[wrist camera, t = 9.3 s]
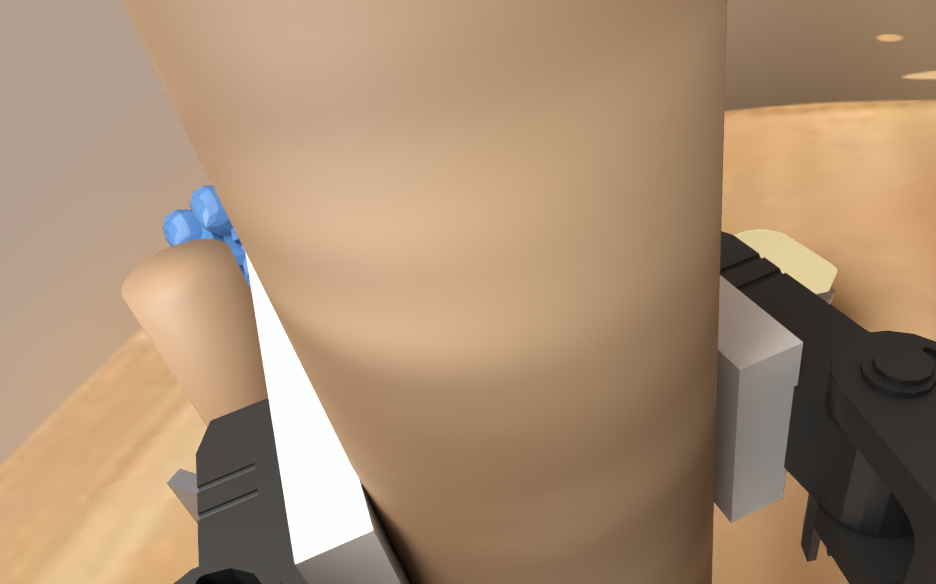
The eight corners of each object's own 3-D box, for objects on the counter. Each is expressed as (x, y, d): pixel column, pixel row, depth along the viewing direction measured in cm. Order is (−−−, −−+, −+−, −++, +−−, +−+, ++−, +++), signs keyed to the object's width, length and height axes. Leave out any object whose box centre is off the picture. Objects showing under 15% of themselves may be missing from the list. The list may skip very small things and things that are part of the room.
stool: (655, 368, 36) (643, 105, 27) (548, 687, 25) (468, 418, 16) (390, 324, 44) (313, 106, 35) (216, 553, 33) (37, 319, 24)
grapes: (192, 397, 42) (90, 238, 35) (236, 325, 47) (155, 173, 40) (366, 392, 39) (294, 218, 32) (393, 316, 45) (336, 152, 37)
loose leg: (722, 674, 14) (781, -397, 4) (683, 912, 11) (612, -468, 2) (542, 611, 16) (302, -248, 6) (471, 803, 13) (-141, -173, 4)
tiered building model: (681, 427, 34) (680, 346, 30) (632, 314, 41) (626, 239, 37) (885, 386, 33) (907, 299, 30) (799, 280, 40) (808, 200, 37)
